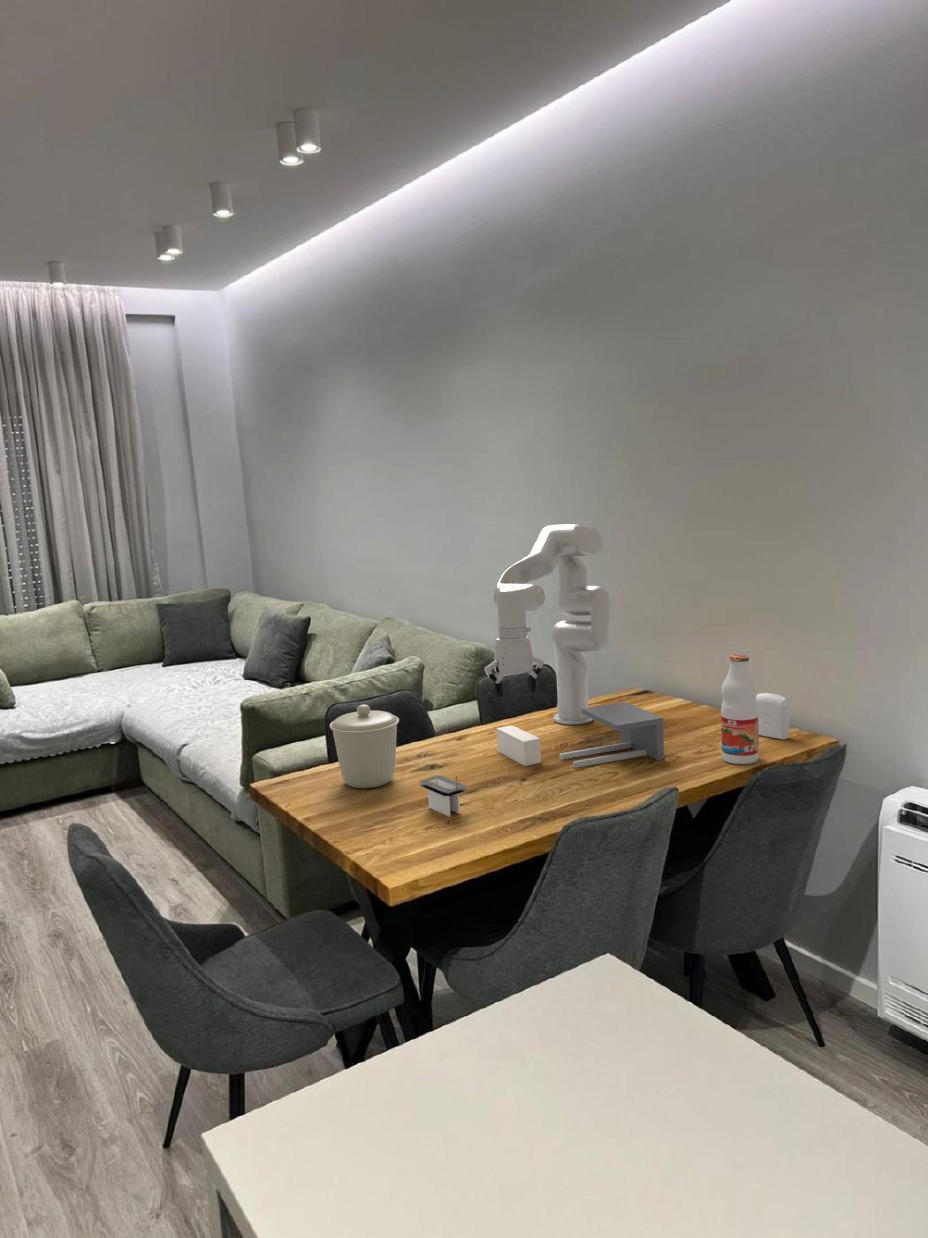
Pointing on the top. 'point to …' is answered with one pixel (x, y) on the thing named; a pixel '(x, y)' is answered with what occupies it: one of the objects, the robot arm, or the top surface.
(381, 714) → the canister
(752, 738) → the fruit juice
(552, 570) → the robot arm
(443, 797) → the architectural model
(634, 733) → the overhang shelf
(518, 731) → the cream rectangular prism
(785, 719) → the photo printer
